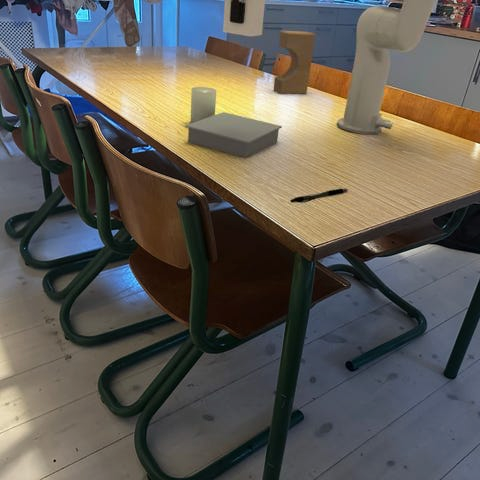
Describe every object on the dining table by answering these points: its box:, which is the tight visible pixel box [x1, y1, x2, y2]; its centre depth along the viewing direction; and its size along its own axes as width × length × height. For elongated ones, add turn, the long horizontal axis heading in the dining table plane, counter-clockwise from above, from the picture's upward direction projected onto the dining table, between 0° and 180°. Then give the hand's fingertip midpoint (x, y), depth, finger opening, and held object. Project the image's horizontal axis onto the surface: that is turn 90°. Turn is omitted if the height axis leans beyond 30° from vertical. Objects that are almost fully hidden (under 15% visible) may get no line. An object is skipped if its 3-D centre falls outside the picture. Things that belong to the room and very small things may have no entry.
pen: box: [290, 188, 349, 203], centre depth 93 cm, size 14×2×1 cm, turn 121°
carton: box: [222, 0, 266, 37], centre depth 103 cm, size 5×7×10 cm
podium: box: [185, 111, 283, 159], centre depth 117 cm, size 17×17×4 cm
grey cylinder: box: [189, 86, 217, 124], centre depth 127 cm, size 6×6×9 cm
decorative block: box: [273, 30, 316, 95], centre depth 167 cm, size 11×6×20 cm, turn 110°
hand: (243, 21), depth 105 cm, fingers closed on carton, 5 cm apart
